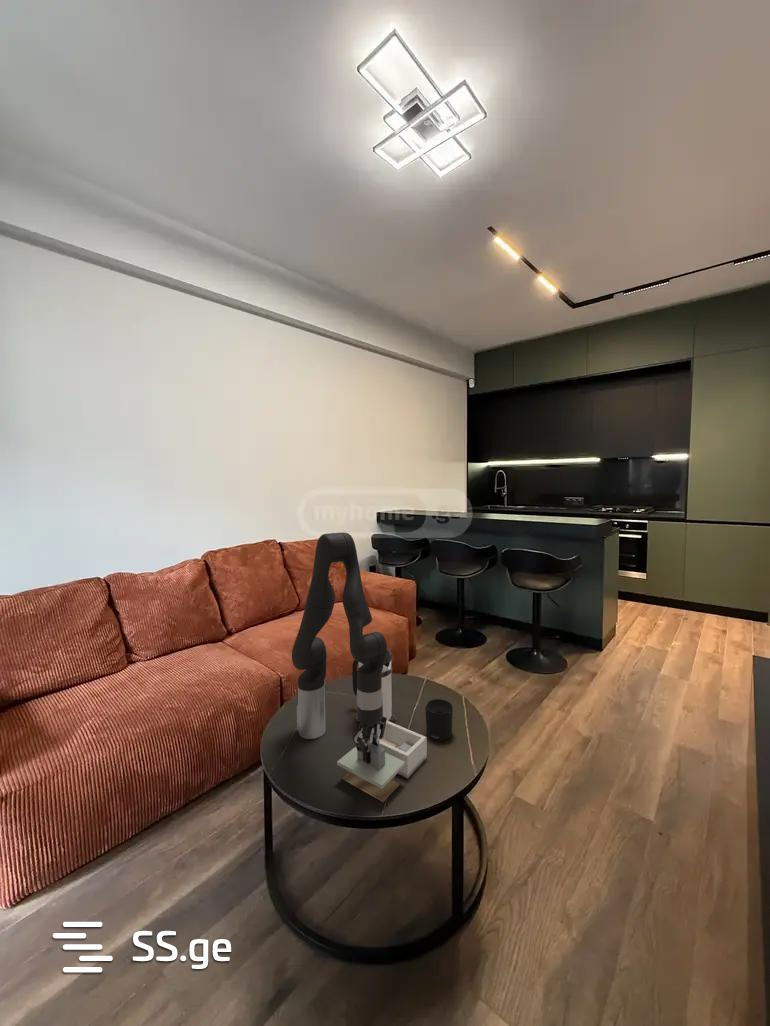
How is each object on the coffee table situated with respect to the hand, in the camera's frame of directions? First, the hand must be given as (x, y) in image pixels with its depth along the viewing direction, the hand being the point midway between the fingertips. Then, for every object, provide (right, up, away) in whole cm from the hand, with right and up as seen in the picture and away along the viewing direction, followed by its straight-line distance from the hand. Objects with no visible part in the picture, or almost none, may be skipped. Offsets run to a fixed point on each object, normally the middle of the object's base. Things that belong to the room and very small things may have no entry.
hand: (370, 758), depth 119 cm
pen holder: (+23, -6, +23) cm, 33 cm away
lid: (0, -3, 0) cm, 3 cm away
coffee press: (0, -5, +32) cm, 32 cm away
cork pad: (0, -7, +1) cm, 7 cm away
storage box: (+8, -6, +11) cm, 15 cm away
